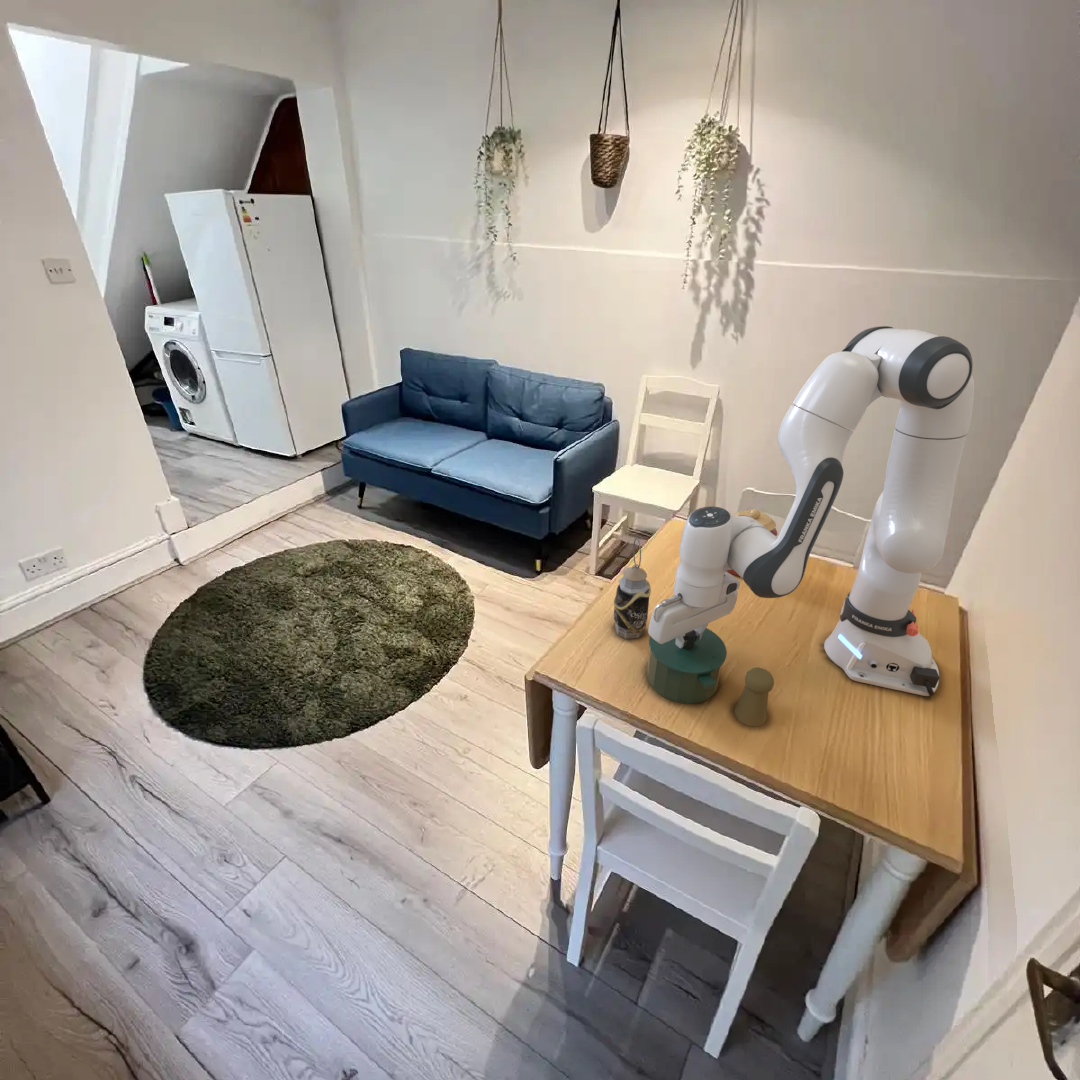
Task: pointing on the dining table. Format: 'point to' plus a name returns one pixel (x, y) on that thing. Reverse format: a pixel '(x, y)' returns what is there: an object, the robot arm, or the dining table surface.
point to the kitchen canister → (762, 519)
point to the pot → (681, 683)
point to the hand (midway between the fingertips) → (688, 642)
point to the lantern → (632, 601)
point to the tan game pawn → (754, 697)
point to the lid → (691, 653)
